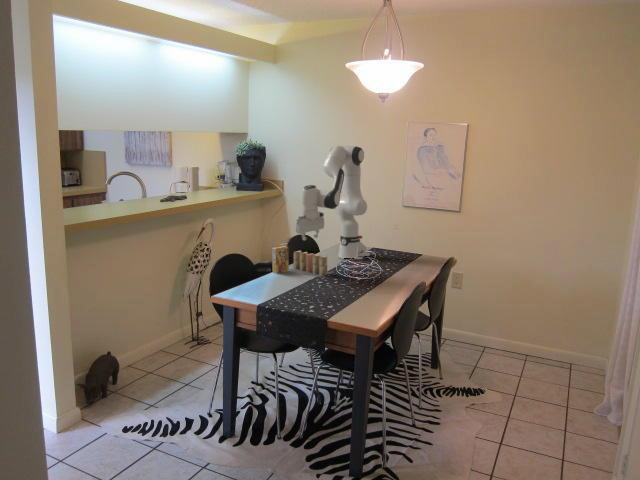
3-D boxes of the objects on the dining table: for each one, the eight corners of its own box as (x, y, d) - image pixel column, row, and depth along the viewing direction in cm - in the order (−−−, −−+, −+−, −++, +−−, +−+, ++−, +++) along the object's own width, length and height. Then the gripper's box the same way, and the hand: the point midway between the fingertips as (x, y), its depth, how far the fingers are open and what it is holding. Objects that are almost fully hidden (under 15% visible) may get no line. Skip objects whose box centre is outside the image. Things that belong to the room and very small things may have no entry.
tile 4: (318, 271, 293) (318, 254, 291) (320, 272, 292) (320, 254, 290) (312, 273, 290) (312, 256, 288) (314, 273, 289) (314, 256, 287)
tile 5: (325, 273, 290) (325, 255, 288) (327, 273, 289) (327, 256, 287) (319, 274, 286) (319, 257, 284) (321, 275, 285) (321, 257, 283)
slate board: (302, 267, 307) (302, 265, 306) (332, 274, 291) (332, 272, 291) (287, 271, 298) (287, 269, 298) (318, 279, 282) (318, 277, 282)
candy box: (284, 271, 298) (284, 245, 295) (289, 272, 295) (288, 246, 292) (272, 274, 293) (271, 247, 290) (276, 275, 289) (276, 249, 286)
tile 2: (305, 268, 300) (305, 251, 298) (307, 269, 299) (307, 252, 297) (299, 270, 296) (299, 253, 294) (301, 270, 295) (301, 253, 293)
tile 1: (299, 267, 303) (299, 250, 301) (301, 267, 302) (301, 251, 300) (293, 268, 299) (293, 252, 297) (295, 269, 298) (295, 252, 296)
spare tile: (312, 270, 297) (312, 253, 295) (314, 270, 296) (314, 253, 294) (306, 271, 293) (306, 254, 291) (308, 272, 292) (308, 255, 290)
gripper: (301, 217, 278) (301, 242, 281) (326, 213, 293) (326, 236, 296) (292, 216, 282) (293, 241, 285) (317, 212, 297) (317, 235, 300)
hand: (310, 238), depth 290 cm, fingers open, 8 cm apart
